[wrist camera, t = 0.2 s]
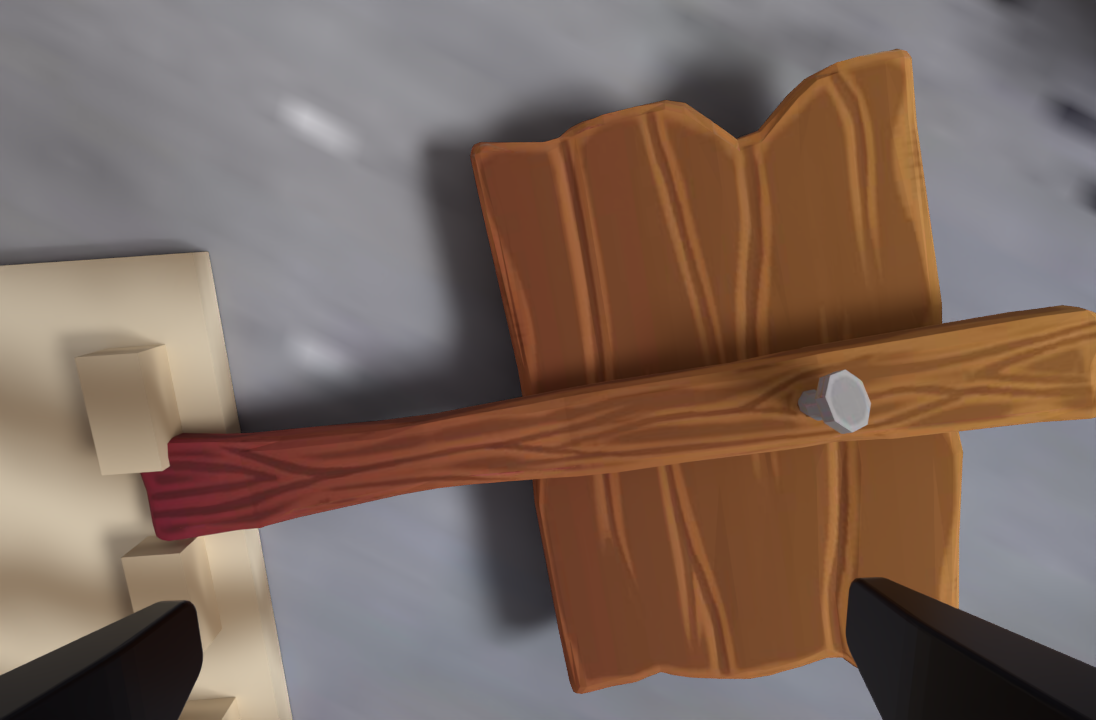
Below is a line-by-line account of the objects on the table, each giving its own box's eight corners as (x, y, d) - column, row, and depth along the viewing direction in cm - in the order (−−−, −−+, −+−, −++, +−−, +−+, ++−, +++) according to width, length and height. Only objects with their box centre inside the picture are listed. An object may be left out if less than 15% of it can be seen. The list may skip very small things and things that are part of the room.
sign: (279, 677, 27) (1037, 610, 22) (178, 801, 21) (1191, 744, 16) (157, 227, 24) (996, 44, 19) (-2, 218, 18) (1164, -52, 13)
